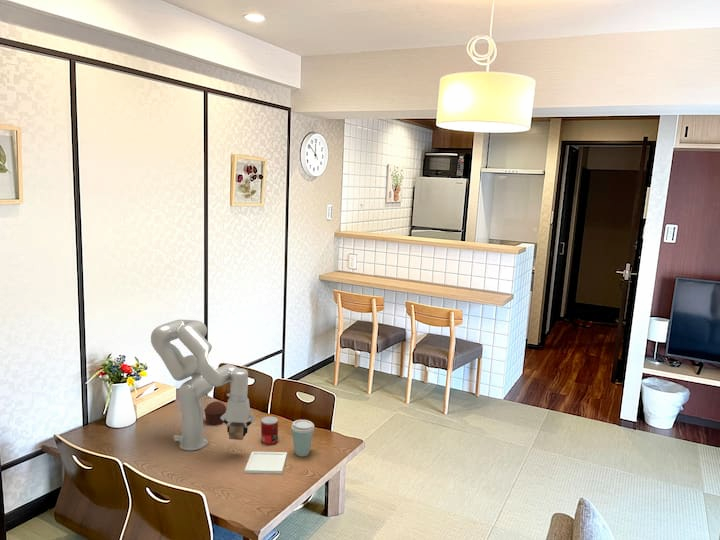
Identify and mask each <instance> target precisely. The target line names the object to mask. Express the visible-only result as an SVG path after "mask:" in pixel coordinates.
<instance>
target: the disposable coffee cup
mask: <svg viewBox="0 0 720 540" xmlns="http://www.w3.org/2000/svg"><path fill="white" fill-rule="evenodd" d="M290 429H291V432H292V440H293V447H294V449H293V450H294V454H295V455H296V456H298V457H306V456H307V457H308V455H309V454H310V451H311V445H312V440H313V436H314V435H313V434H314V430H315V424H314V422H312V421H310V420H308V419H296V420H294V421H292V424H291V427H290Z"/></svg>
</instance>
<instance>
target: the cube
mask: <svg viewBox="0 0 720 540" xmlns="http://www.w3.org/2000/svg"><path fill="white" fill-rule="evenodd" d="M243 432H244V424H243V423H236V422H231V424H230V426H229V435H228V439H229V440H234V441H235V440H237V441H243V440H244V437H245V436H243Z"/></svg>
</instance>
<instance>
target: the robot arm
mask: <svg viewBox="0 0 720 540" xmlns="http://www.w3.org/2000/svg"><path fill="white" fill-rule="evenodd" d="M207 332H208V328H207V326H206V324H205V323H203V322H202V321H201V320H196V319H194V320H193V319H176V320H172V321H170V322H166V323H163V324H161V325H158V326H157V327H155V328H154V329H153V330H152V332H151V334H150V344H151V346H152V347H153V349H154V351H155V352H156V353H157V355H158V356H159V357H160V358H161V360H162V362H163V364H164V365H165V367H166V369H167V370H168V372H169V374H170V376H171V377H172V378H173V379H174V380H175V381H177V382H179V381H183V380H186V379H188V378H190V377H191V379H188V380H186V381H185V382H183V383H181V385H180V387H179V389H178V396H179V400H180V407H181V409H180V410H181V428H182V429H181V430H182V434H181V435H180V434H179V435H178V434H175V435H173V440H174V442H179V444H178V445H179V446H178V447H179V448H180V449H181V450H182V451H188V452H189V451H190V452H193V451H198V450H201V449H203V448H205V447H206V446H207V445H208V440H207V438H205V436H204V406H203V404H202V403H201V400H200V399H201V398H202V397H204V396H206V395H208V394H209V393H211V391H213V389H214V387H215V388H219V387H221V386H223V385H225V384H227V383H230V387H229V389H230V390H229V392H228V393H226V397H228V399H227V402H226V403H227V404H226V412H225V413H224V414H223V415H222V416H221V417H220V418H221V419H222V420H223V421H224V424H225V425H226V426H227V427H226V429H227V433H228V436H229V426H230V424H231V422H236V423H243V424H244V432H243V436H244V437H245V436H246V434H248V430H249V429H248V427H250V425H252V424H253V423H254V422H255V421H256V418H255V416H253V414H252V413H251V407H250V405H251V404H250V399H249V398H248V388H249V387H248V386H249V384H248V383H249V371H248V370H247V369H245V368H241V367H240V368H239V367H237V365H234V364H231V363H226V364H224V365H222V366H220V367H217V368H215V367H214V366H213V365H212V364H211V363H210V361H209V354H210V352H211V351H212V349H213V347H212V344H211V343H210V341H208V340H207V339H206V338H205V336H206V335H207ZM177 339H178V340H179V341H180V342H181V343H182V344H183V346H185V347H186V348H187V350H189V352H191V354H189V355H186V356H184V355H183V354H182V352H181V351H180V349H179V348H178V347H177V346H176V345H174V344H173V343H171V342H172V341H174V340H177Z"/></svg>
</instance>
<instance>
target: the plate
mask: <svg viewBox="0 0 720 540" xmlns="http://www.w3.org/2000/svg"><path fill="white" fill-rule="evenodd" d="M287 457H288V452H286V451H285V452H283V451H251V453H250V455H249V458H248V460H247V463H246V466H245V467H244V474H259V475H261V474H263V475H264V474H266V475H269V474H272V475H273V474H274V475H282V474H283V472H284V468H285V464H286V460H287Z"/></svg>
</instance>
